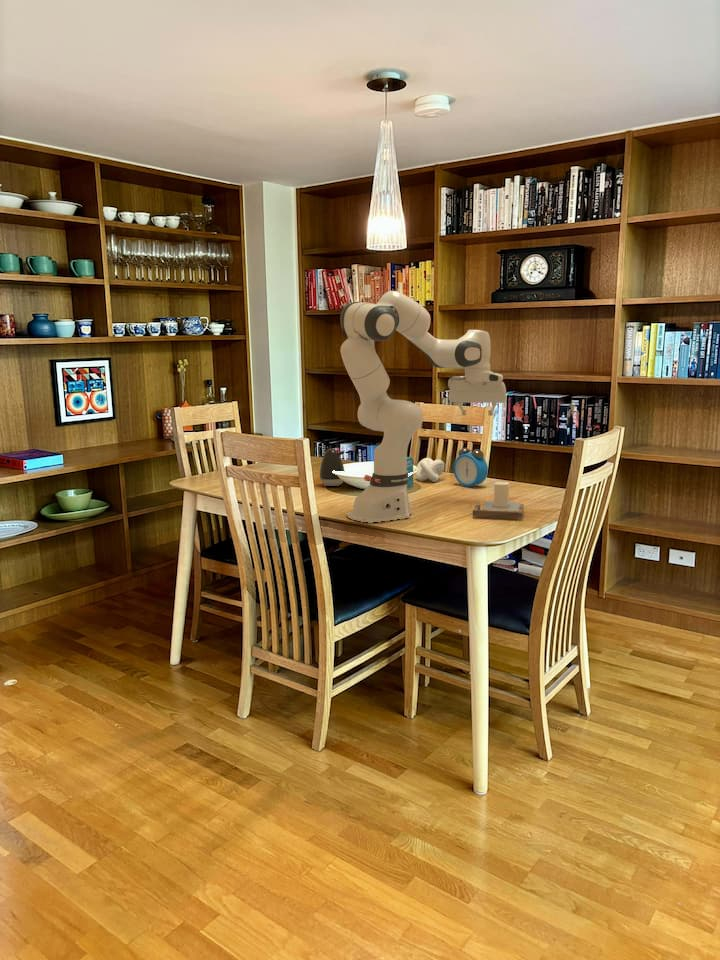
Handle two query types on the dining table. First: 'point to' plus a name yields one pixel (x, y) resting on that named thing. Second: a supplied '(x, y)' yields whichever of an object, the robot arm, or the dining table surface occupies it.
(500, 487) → the cream block
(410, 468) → the data package
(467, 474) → the alarm clock
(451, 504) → the dining table surface
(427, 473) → the white decorative knot
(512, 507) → the grey mat
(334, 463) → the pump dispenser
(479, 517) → the brown wooden tray
